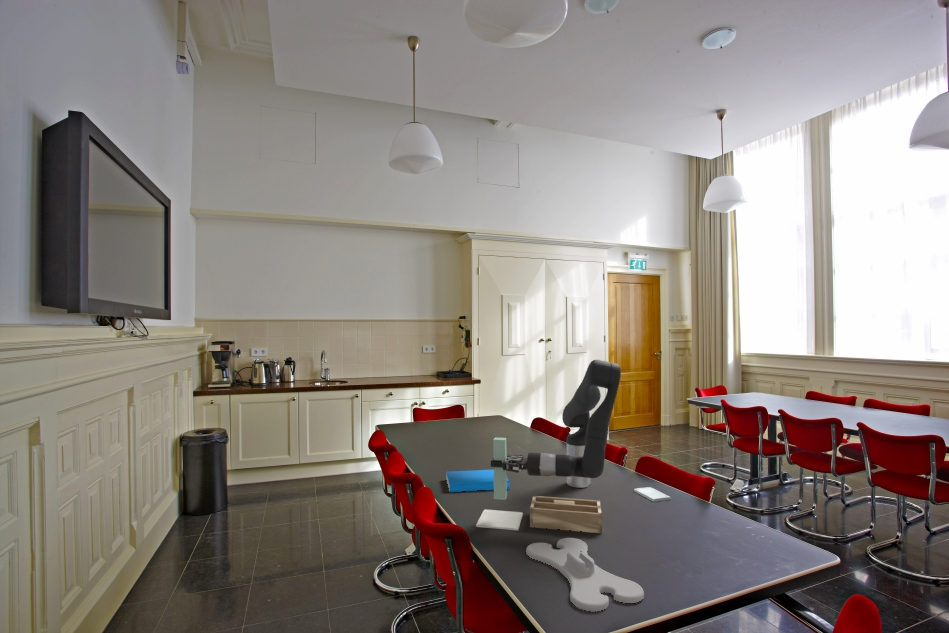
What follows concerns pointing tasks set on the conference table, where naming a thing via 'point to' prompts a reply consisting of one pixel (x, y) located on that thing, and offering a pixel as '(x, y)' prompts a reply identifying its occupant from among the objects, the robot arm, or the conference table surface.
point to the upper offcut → (564, 502)
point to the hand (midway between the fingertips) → (492, 461)
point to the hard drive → (652, 494)
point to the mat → (500, 519)
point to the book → (471, 480)
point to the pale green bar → (500, 469)
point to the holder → (585, 575)
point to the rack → (566, 514)
